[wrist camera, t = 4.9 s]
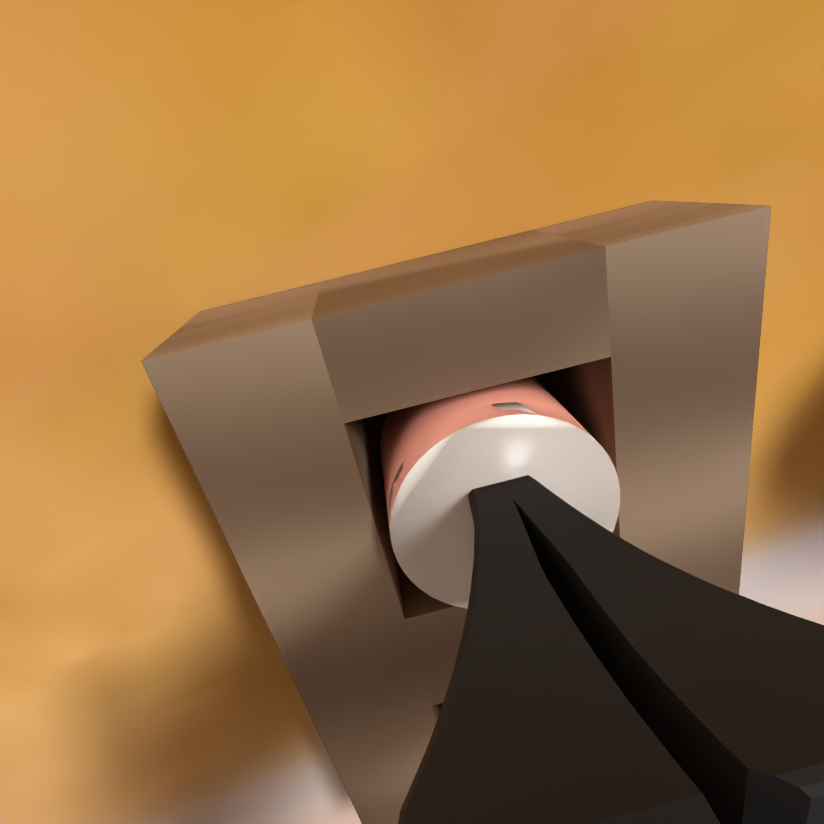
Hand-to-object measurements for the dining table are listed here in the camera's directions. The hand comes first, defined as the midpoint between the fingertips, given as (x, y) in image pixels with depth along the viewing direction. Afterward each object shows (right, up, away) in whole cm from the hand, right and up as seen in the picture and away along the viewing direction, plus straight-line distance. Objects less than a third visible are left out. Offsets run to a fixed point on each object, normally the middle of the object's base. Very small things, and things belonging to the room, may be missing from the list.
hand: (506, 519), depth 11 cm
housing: (0, -2, +6) cm, 7 cm away
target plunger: (0, +1, +3) cm, 3 cm away
